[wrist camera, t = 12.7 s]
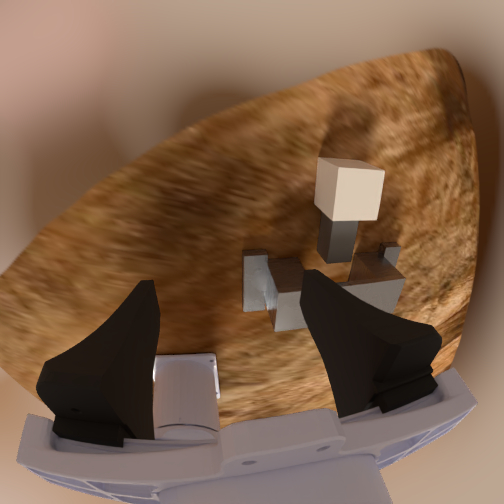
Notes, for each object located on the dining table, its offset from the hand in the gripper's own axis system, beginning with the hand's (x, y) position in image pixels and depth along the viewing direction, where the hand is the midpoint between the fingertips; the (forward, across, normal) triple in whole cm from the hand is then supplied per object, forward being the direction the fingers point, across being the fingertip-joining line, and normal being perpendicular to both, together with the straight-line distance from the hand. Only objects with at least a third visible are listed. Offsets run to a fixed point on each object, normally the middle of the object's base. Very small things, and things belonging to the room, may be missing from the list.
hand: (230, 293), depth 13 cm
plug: (+10, -10, 0) cm, 14 cm away
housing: (+10, -10, +6) cm, 16 cm away
